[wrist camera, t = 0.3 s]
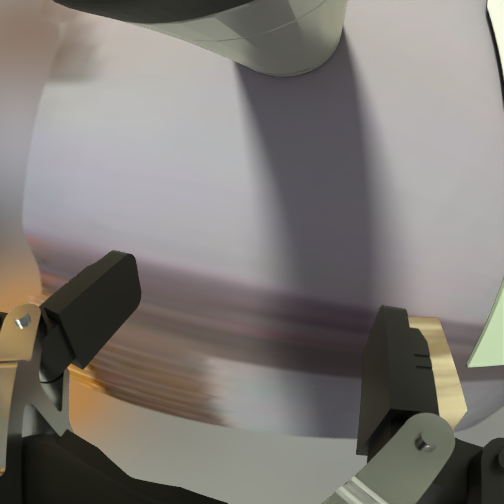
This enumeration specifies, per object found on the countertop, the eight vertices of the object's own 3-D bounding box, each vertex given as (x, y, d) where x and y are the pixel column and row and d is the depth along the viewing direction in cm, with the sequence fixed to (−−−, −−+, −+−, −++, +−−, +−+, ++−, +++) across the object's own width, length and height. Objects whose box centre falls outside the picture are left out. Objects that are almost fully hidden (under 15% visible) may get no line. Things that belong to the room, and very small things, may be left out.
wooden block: (399, 316, 28) (417, 414, 18) (438, 317, 27) (467, 410, 17) (390, 345, 30) (400, 439, 19) (427, 346, 29) (447, 436, 18)
